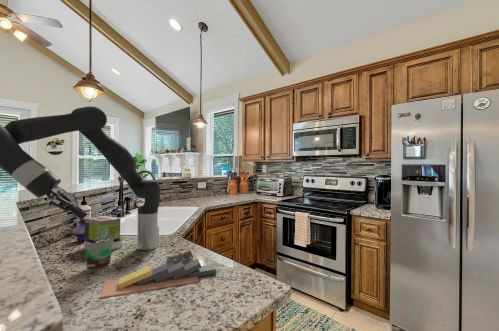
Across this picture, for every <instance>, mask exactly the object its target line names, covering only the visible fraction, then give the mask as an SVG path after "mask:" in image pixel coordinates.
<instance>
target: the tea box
mask: <svg viewBox="0 0 499 331" xmlns="http://www.w3.org/2000/svg"><path fill="white" fill-rule="evenodd" d="M107 236H110V237H112V239H113V241H114V243H113V244H112V248H111V251H112V250H116V249H117V250H118V249H119V248H121V218H120V217H114V216H110V215H100V216H94V217H86V218H85V242H84V245H85V244H92V243H94V242H96V241H99V240H104V239H106V238H107Z"/></svg>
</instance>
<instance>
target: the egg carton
mask: <svg viewBox="0 0 499 331" xmlns="http://www.w3.org/2000/svg"><path fill="white" fill-rule="evenodd" d="M192 261H194V255H193V252H192V250H187V251H183V253H179V254H174V255H171V256H170V255H166V264H167V267H170V266H172V265H175V264H177V263H179V262H182V263H183V265H185V264H187V263H190V262H192Z"/></svg>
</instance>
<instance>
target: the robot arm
mask: <svg viewBox="0 0 499 331" xmlns="http://www.w3.org/2000/svg"><path fill="white" fill-rule="evenodd" d="M107 122H108V117H107V115H106V113H105V110H103V109H102V108H100V107H97V106H92V105H91V106H84V107H78V108H75V109H72V111H71V113H67V114H65V113H64V114H57V115H47V116H46V115H45V116H36V117H29V118H22V119H16V120H11V121H10V122H8V123H7V124H6V125H5V126H3V125H1V124H0V168H1V169H2V170H3V171H4V172H6V173H7V174H8V175H10V176H11V177H12V178H13V179H14V180H15V181H16V182H17V183H18V184H20V186H22V187H23V188H24V189H26V190H28V192H30V193H31V195H34V196H35V197H36V198H39V199H41V198H42V197H45V196H46V197H47V198H48V200H49V203H50V205H52V206H55V207H57V208H58V209H61V210H63V211H65V212H68V213H72V214H73V215H74V216H76V217H77V218H79V220H80V219H84V218H85V217H87V216H88V212H87V211H85V210H84V209H83V208H81V207H80V206H79V202H78V201H77V200H76V198H75V197H74V196H73V194H72V193H71V192H68V191H67V190H66V189H64V188H60V187H59V186H58V185H60V183H61V181H62V179H60V178H59V177H58V176H57V175H56V174H54V172H52V170H50V169H48V168H47V167H46V166H45V165H44V164H42V163H41V162H39V161H37V160H36V159H35V158H34V157H33V156H31V155H30V154H28V152H27V151H25V150H23V148H22V147H21V146H20V144H24V143H29V142H34V141H37V140H42V139H46V138H47V139H48V138H51V137H55V136H58V135H59V136H60V135H62V134H66V133H67V134H68V133H73V132H79V133H80V134H82V135H83V136H84V137H85V138H86V139H88V141H89V142H90V143H91V144H92V146H94V147H95V148H96V149H97V151H98V152H99V153H101V155H102V156H103V157H104V158H105V160H106V161H107V162H108V163H109V164H110V166H111V167H112V168H113V169H115V171H117V173H118V174H119V176H121V177H122V179H123V180H124V182H126V183H127V185H128V186H129V188H130V190H131V191H132V192H133V194H134V195H135V196H136V197H137V198H139V199H142V200H144V203H143V204H142V205H141V206H139V207H137V237H136V238H137V246H136V247H137V250H139V251H151V250H155V249H156V248H157V247H158V246H160V245H159V244H160V227H159V226H158V224H159V222H158V218H159V216H158V215H159V214H158V213H159V211H158V209H159V207H160V199H161V198H160V197H161V187H160V183H159V182H158V181H156V180H150V179H149V180H146V179H144V178H143V177H142V176H141V175H140V174H139V172H138V171H137V166H136V160H135V158H134V156H133V154H131V152H130V151H129V150H128V149H127V147H125V146H124V145H123V144H122V143H121V142H119V141H117V140H116V139H115V138H113V137H111V136H110V135H109V134H107V132H105V130H104V129H103V128H105V126H106V124H107Z"/></svg>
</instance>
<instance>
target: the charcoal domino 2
mask: <svg viewBox="0 0 499 331" xmlns="http://www.w3.org/2000/svg"><path fill="white" fill-rule="evenodd" d="M168 271H169V273H167V274H165V275H163V276H160V277H158V278H156V279H155V281H156V283H158V282H160V281H162V280H165V279H167V278H169V277H171V276H174V275H176V274H178V273H180V272H183V271H185V268H184V265H183V263H182V262H179V263H177V264H175V265H172V266H170V267H168Z"/></svg>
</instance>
